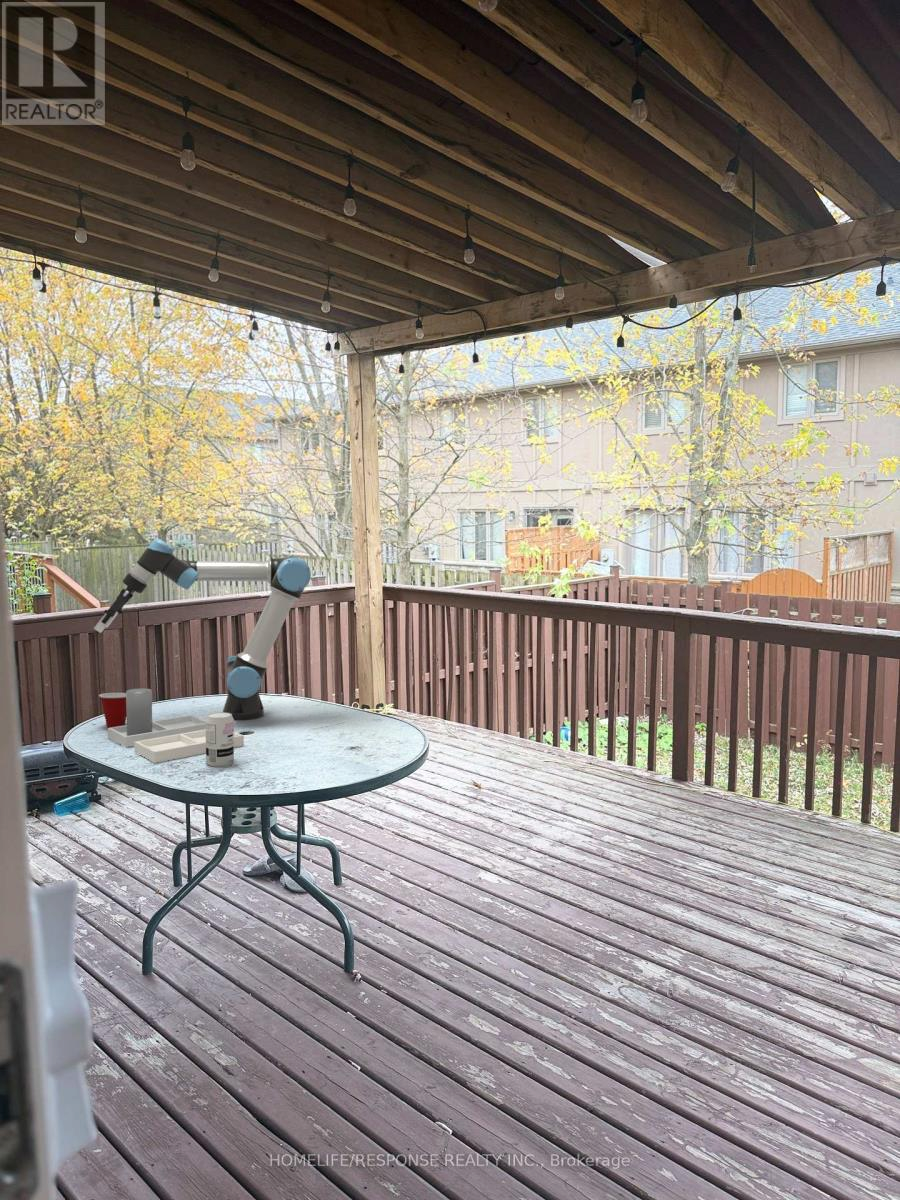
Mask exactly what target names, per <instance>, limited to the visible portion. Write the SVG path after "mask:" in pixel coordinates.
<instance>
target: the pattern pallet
mask: <svg viewBox="0 0 900 1200" xmlns="http://www.w3.org/2000/svg"><path fill="white" fill-rule="evenodd" d="M125 693H126V711H127V717H126V724H125V725H124V726H118V727H112V728H107V739H108V738H109V739H108V740H110V739H111V740H110V741H112V740H113V741H112V742H114V741H115V742H114V743H116V742H117V743H116V744H118V743H119V744H121V745H123V746H125V747H128V746H133V747H134V742H136V741H142V740H147V739H153V738H159V737H165V736H170V735H176V734H182V733H188V732H193V731H199V730H205V729H206V719H204V718H200V717H199V716H197V715H194V714H189V715H182V716H177V717H176V716H175V717H169V718H163V719H156V720H153V690H152V689H151V688H146V687H143V688H142V687H141V688H131V689H127V690H126V692H125ZM119 744H118V745H119ZM121 745H120V746H121ZM123 746H122V747H123ZM125 747H124V748H125ZM128 748H129V747H128Z"/></svg>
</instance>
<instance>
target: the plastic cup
mask: <svg viewBox="0 0 900 1200" xmlns="http://www.w3.org/2000/svg"><path fill="white" fill-rule="evenodd" d="M98 696H99V698H100V701H101V705H102V711H103V714H104V718H105V724H106V728H107V729H108V728H112V727H118V726H124V725H126V723H127V711H126V692H107V693H100V694H98Z"/></svg>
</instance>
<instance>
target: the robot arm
mask: <svg viewBox="0 0 900 1200" xmlns="http://www.w3.org/2000/svg"><path fill="white" fill-rule="evenodd" d="M174 551H175V549H174V548H173V547H172V546H171V545H170V544H168V542H165V541H164V540H162V539H160V538H155V539H153V541H152V542H151V543H150V544H149V545H148V546H147V547H146V549H145V551H144V552H142V554H141V556H140V557H139V558H138V560H137V561H136V562H135V563H132V568H131V569H130V571H129V573H126V575H125V576H124V578H123V579H122V583H123V585H125V586H126V588H123V589H121V591H120V592H119V594H118V595H117V597H116V599H115V601H114V602H113V603H112V604H111V606H110V607H109V608H108V609H105V610H104V615H102V617H101V619H100V620H98V622H97V623H96V625H95V626H94V627H93V629H94V630H96V631H97V632H98V633H99V634H101V633H102V632H103V631H104V630H105V628H107V629H108V627H109V626H110V625H111V624H112V622H113V621H114V619H116V617H117V616H118V614H122V612H123V608H124V606H125V605H126V604H127V603H128V602H129V601H130V600H131V599H132V598H133V596H134V593H135V592H136V593H138V594H142V593H143V592H145V589H146V588H147V587H148V585H147V584H150V583H151V582H152V580H153V579H154V577H155V576H156V575H157V573H158V572H159V573H160V574H162V575H163V576H164V577H166V578H168V579H169V580H171V581H172V582H173V583H175V584H176V585H177V586H178V587H181V588H183V589H184V590H189V589H190V588H191V587H192V585H193V584H194V583H195V582H267V584H269V589H270V590H271V592H270V595H269V597H268V599H267V601H266V604H265V605H264V607H263V610H262V612H261V614H260V616H259V618H258V621H256V622H257V623H256V624H255V627H254V629H253V631H252V633H251V636H250V637H249V639H248V642H247V644H246V645H245V648H244V650H243V651H242V652H239V653H237V655H230V656H227V657H228V658H227V661H226V666H227V671H226V672H227V676H226V686H227V695H226V696H227V697H226V699H225V703H224V707H223V709H222V712H225V713H230V714H232V717H233V719H234V720H235V719H237V721H239V720H242V721H243V720H244V719H245V720H254V719H257V718H258V717H259V718H261V717H263V716H264V714H265V710H264V705H263V701H262V700H261V699H262V698H261V696H260V688H261V684H262V679H263V678H264V676H265V674H266V671H267V669H268V664H267V659H268V657H269V655H270V653H271V651H272V649H273V647H274V644H275V642H276V640H277V638H278V636H279V633H280V631H281V629H282V627H283V626H284V623H285V621H286V618H287V616H288V614H289V613H290V610H291V608H292V605H293V604H294V602H296V601H299V600H300V599H301V596H302V594H303V592H304V590H305V589H306V587H307V586H308V585H309V583H310V580H311V575H312V573H311V572H312V571H311V569H310V565H308V563H307V562H306V561H305V560H303V559H302V558H299V557H296V556H287V557H278V558H268V560H266V561H265V560H264V561H262V560H258V561H257V560H248V561H247V560H186V559H179V558H177V557H176V556H175V555H174V554H173V552H174ZM245 720H244V721H245Z"/></svg>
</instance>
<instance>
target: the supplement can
mask: <svg viewBox="0 0 900 1200" xmlns="http://www.w3.org/2000/svg"><path fill="white" fill-rule="evenodd" d="M205 720H206V753H205V763H206V764H207V765H208V766H210V767H216V768H217V767H227V766H230V765H231V764H233V762H234V761H235V748H234V732H235V730H234V729H235V725H234V724H235V719H233V717H232V714H230V713H225V712H223V711H222V712H213V713H209V714H208V715H207V717H206V719H205Z"/></svg>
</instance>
